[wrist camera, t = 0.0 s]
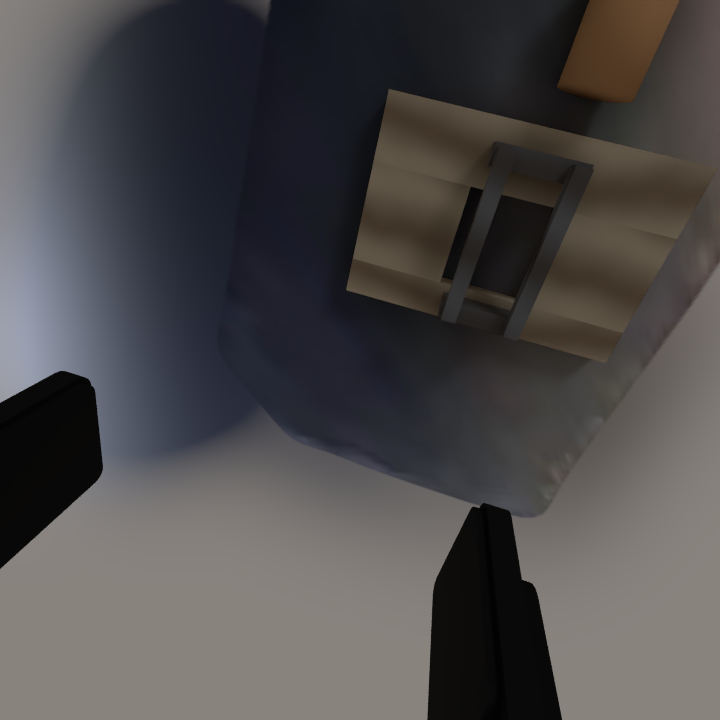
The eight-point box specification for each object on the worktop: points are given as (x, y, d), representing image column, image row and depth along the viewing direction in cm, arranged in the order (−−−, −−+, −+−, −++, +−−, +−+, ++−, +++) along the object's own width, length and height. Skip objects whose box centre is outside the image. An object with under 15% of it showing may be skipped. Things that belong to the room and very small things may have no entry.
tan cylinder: (596, -34, 27) (624, -71, 23) (672, -18, 27) (715, -52, 23) (550, 89, 31) (567, 78, 26) (618, 105, 30) (646, 97, 26)
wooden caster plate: (392, 92, 33) (381, 81, 28) (702, 167, 31) (750, 169, 26) (350, 284, 40) (336, 302, 35) (598, 353, 38) (620, 382, 33)
